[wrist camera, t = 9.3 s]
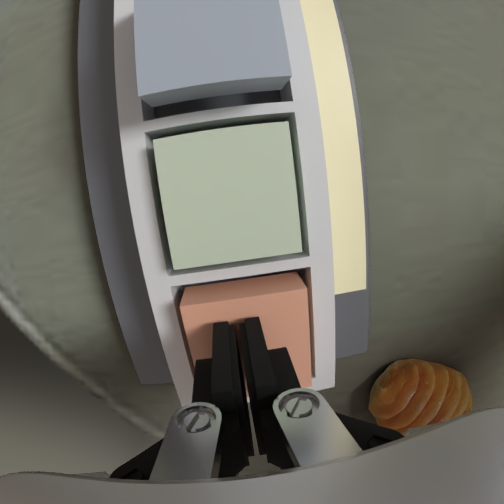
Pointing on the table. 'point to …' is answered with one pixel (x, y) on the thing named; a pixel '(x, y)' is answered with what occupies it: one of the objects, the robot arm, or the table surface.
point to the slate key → (208, 48)
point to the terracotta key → (252, 305)
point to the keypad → (215, 117)
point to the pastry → (418, 395)
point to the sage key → (228, 194)
